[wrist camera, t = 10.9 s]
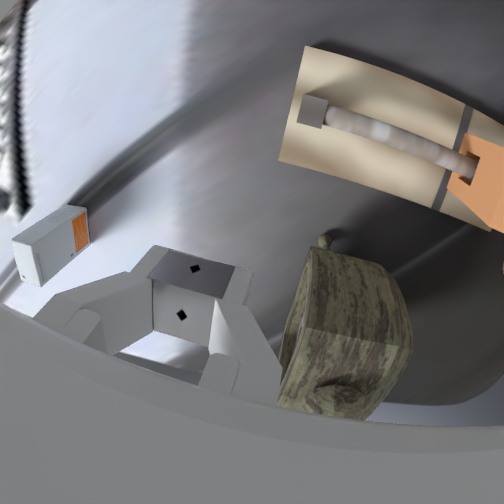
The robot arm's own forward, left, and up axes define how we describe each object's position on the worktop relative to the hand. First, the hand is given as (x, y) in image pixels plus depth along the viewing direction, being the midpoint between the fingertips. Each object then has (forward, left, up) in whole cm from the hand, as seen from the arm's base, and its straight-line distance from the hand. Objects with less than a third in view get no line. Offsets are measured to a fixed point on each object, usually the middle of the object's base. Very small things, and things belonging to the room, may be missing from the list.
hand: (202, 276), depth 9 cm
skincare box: (+17, -26, -26) cm, 41 cm away
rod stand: (-4, +13, -26) cm, 30 cm away
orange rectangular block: (-4, +18, -22) cm, 29 cm away
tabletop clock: (+15, +10, -26) cm, 32 cm away
